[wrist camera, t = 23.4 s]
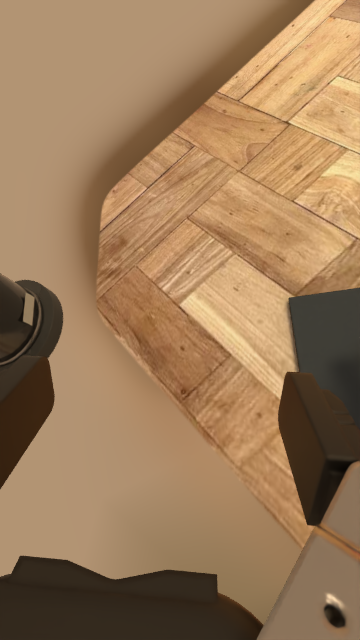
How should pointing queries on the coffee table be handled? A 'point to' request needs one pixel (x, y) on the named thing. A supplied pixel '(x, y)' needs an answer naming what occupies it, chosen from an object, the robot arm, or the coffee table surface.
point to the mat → (330, 343)
